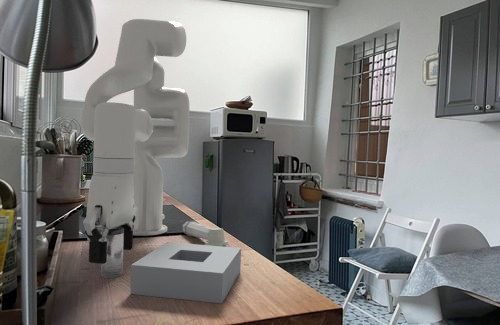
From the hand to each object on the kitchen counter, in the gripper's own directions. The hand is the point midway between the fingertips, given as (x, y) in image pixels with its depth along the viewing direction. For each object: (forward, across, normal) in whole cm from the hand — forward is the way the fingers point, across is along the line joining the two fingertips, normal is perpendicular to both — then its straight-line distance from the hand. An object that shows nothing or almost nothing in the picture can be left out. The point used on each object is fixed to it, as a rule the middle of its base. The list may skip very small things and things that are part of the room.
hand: (112, 255), depth 71 cm
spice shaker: (+4, 0, 0) cm, 4 cm away
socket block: (+4, 0, +16) cm, 16 cm away
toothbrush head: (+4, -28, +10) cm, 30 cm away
